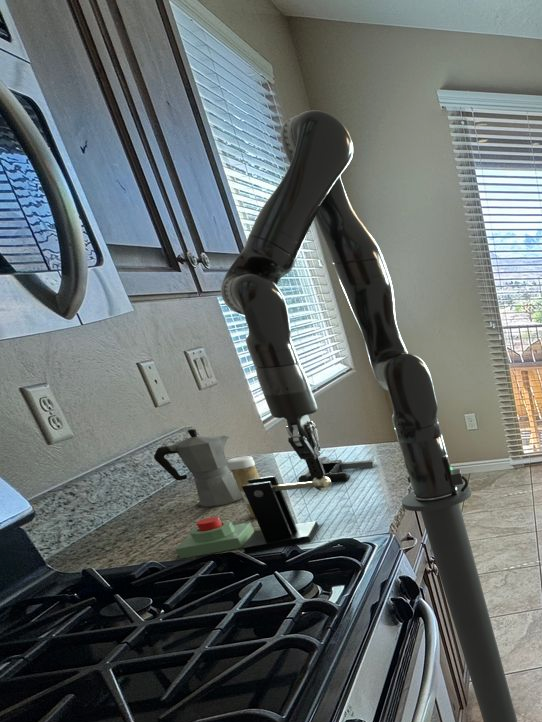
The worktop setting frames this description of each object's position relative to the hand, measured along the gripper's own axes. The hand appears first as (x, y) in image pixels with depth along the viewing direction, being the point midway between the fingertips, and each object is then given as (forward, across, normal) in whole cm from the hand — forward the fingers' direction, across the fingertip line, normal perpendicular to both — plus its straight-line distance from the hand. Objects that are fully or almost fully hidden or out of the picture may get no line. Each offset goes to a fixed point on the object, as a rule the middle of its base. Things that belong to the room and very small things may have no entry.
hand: (318, 475), depth 115 cm
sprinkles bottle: (+12, +20, +18) cm, 29 cm away
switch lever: (+3, 0, +5) cm, 6 cm away
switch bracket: (+12, 0, +10) cm, 16 cm away
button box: (+12, +4, +22) cm, 25 cm away
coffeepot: (+12, +37, +31) cm, 50 cm away
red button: (+8, +4, +22) cm, 24 cm away
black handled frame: (+12, +46, +6) cm, 48 cm away
